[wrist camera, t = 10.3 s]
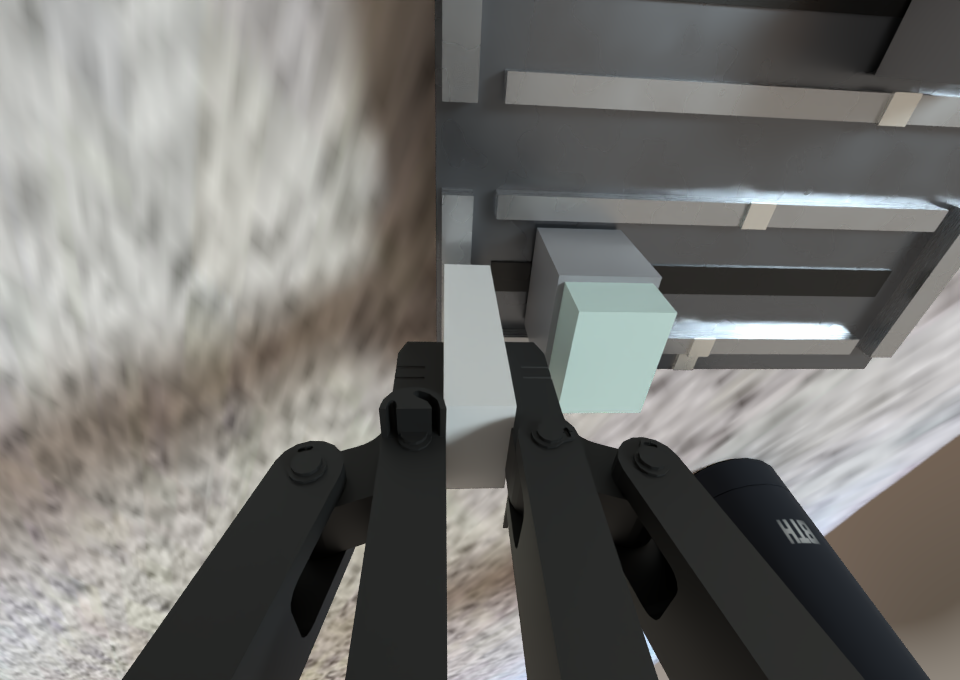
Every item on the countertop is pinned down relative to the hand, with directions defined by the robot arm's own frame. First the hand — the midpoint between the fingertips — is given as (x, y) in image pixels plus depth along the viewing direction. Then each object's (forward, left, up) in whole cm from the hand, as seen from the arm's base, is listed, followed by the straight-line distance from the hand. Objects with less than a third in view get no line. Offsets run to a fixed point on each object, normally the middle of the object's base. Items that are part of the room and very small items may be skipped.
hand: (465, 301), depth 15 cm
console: (-5, +9, -4) cm, 11 cm away
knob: (0, +4, -2) cm, 4 cm away
